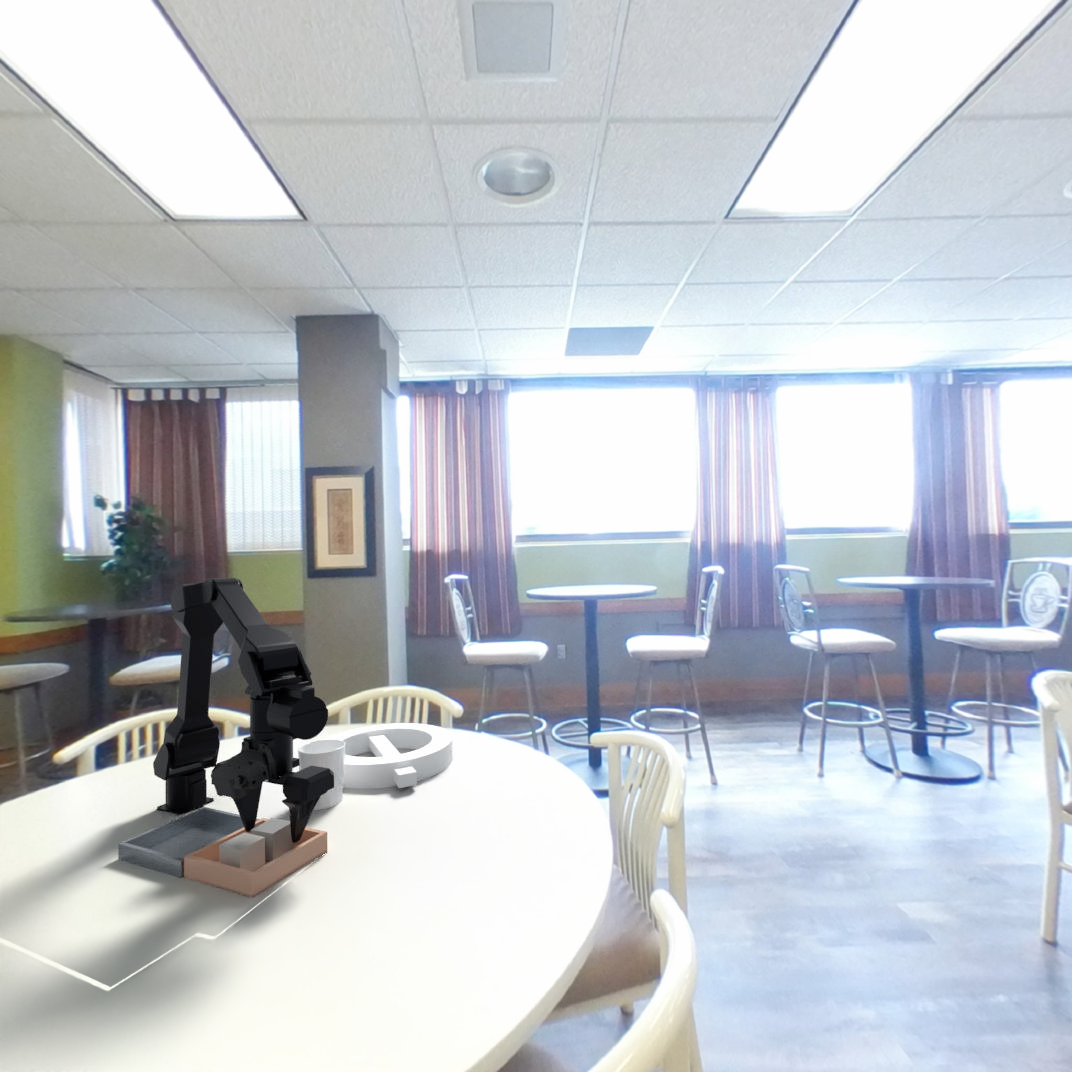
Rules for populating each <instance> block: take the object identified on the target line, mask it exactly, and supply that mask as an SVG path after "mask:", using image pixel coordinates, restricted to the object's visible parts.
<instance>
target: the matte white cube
mask: <svg viewBox="0 0 1072 1072" xmlns="http://www.w3.org/2000/svg"><path fill="white" fill-rule="evenodd" d="M219 863H222V864H226V865H229V866H233V867H237V868H240V869H244V870H248V871H251V872H254V871H256V870H257V869H259V868H261V867H262V866H264V865H265V837H262V836H258V835H254V834H249V833H245V832H244V833H242V834H240V835H238V836H236V837H234V838H232V839H230V840H228V841H226V842H224V843H222V844H220V845H219Z"/></svg>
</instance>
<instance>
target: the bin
mask: <svg viewBox="0 0 1072 1072" xmlns="http://www.w3.org/2000/svg"><path fill="white" fill-rule="evenodd" d="M260 819H261V818H258V817H257V818H256V821H258V820H260ZM242 828H244V825H243V822H242V820H241V817H240V814H239V813H233V812H229V811H225V810H220V809H215V808H211V807H206V806H202V808H201V807H200V808H198V809H195V810H193V811H191V812H188V813H186V814H184V815H183V816H180V817H178V818H175V819H173V820H171V821H168V822H166V823H163V824H161V825H159V826H157V827H154V828H152V829H150V830H146V831H144V832H142V833H140V834H138V835H135V836H134V837H130V838H128V839H126V840H124V841H121V842H119V843H118V844H117V846H118V847H117V848H118V851H117V852H118V854H117V855H118V856H117V859H118V860H119V861H122V862H125V863H130V864H132V865H135V866H138V867H142V868H145V869H149V870H153V871H155V872H159V873H163V874H166V875H169V876H172V877H175V878H179V879H183V878H184V856H187V855H189V854H191V853H193V852H195V851H197V850H199V849H201V848H203V847H205V846H207V845H209V844H211V843H213V842H215V841H217V840H219V839H221V838H223V837H225V836H227V835H229V834H231V833H233V832H235V831H237V830H239V829H242Z"/></svg>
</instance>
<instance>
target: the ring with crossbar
mask: <svg viewBox="0 0 1072 1072" xmlns="http://www.w3.org/2000/svg"><path fill="white" fill-rule="evenodd" d="M324 740H341V741H343V742H345V768H344V785H343V789H344V788H345V789H346V788H347V789H382V788H390V787H396V786H397V788H398V789H403V788H406V787H413V786H417V783H418V781H421V780H425V779H428V778H431V777H433V776H435V775H437V774H439V773H441V772H443V771H445V770H446V769H447V768H448V767H450V765H451V764H452V763H453V760H454V756H453V754H454V753H453V752H454V751H453V748H454V747H453V735H452V733H451V732H450V731H449V730H448V729H446V728H444V727H440V726H437V725H433V724H428V723H427V724H425V723H416V722H415V723H414V722H413V723H411V722H410V723H409V722H406V723H405V722H400V723H398V722H397V723H383V724H376V725H369V726H363V727H362V726H361V727H358V728H353V729H349V730H345V731H342V732H339V733H336V734H333V735H330V736H329V737H326V738H325V739H324ZM398 749H409V750H410V749H411V750H412V751H409V752H408V751H407V752H404V753H400V752H399V751H398ZM368 752H372V754H373V755H374V756H370V757H369V756H358V755H361V754H364V753H368Z"/></svg>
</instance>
